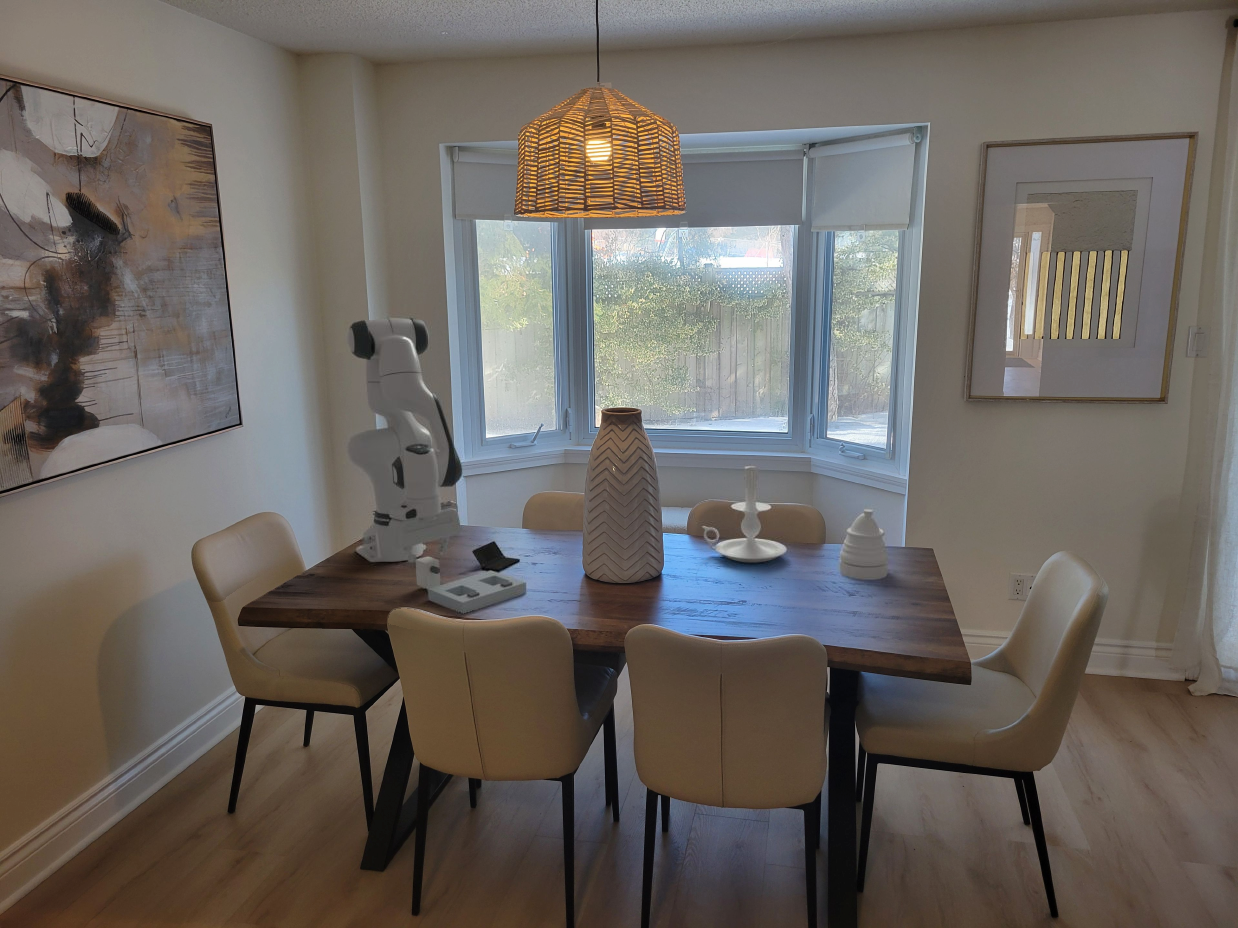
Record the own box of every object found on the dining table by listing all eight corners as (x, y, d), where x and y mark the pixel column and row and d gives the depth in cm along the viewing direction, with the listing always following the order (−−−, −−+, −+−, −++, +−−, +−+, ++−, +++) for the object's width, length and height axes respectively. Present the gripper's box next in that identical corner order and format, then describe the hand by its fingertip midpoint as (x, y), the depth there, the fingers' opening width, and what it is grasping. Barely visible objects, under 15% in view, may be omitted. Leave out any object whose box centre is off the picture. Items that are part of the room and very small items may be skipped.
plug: (417, 588, 229) (415, 559, 228) (430, 584, 232) (428, 556, 231) (432, 594, 224) (430, 564, 223) (444, 590, 227) (443, 561, 226)
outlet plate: (428, 599, 220) (427, 586, 220) (491, 580, 234) (490, 568, 234) (463, 614, 210) (462, 600, 209) (526, 593, 224) (525, 580, 223)
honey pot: (895, 578, 230) (898, 513, 227) (849, 580, 229) (851, 515, 226) (876, 563, 243) (879, 502, 239) (832, 566, 242) (834, 504, 238)
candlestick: (710, 544, 264) (710, 455, 259) (791, 551, 256) (793, 459, 251) (693, 564, 245) (693, 468, 240) (780, 572, 237) (782, 473, 232)
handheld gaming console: (506, 567, 241) (486, 537, 242) (487, 581, 243) (468, 552, 244) (523, 561, 252) (504, 533, 253) (505, 574, 254) (486, 546, 255)
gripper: (450, 498, 234) (453, 547, 236) (383, 512, 219) (387, 564, 222) (463, 501, 229) (467, 551, 232) (396, 515, 215) (400, 568, 217)
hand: (427, 557), depth 227 cm, fingers open, 8 cm apart
